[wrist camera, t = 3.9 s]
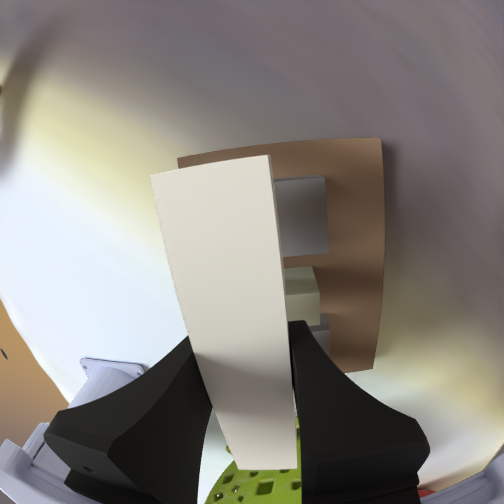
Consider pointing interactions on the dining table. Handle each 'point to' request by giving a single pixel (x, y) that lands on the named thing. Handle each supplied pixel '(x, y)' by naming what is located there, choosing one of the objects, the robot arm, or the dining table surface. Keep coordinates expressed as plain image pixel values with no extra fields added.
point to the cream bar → (234, 300)
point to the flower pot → (258, 484)
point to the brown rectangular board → (328, 238)
